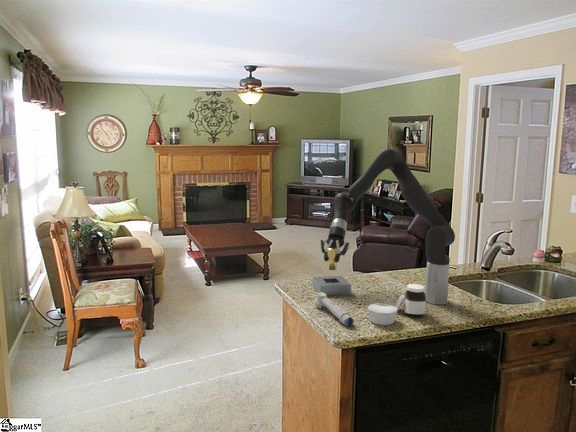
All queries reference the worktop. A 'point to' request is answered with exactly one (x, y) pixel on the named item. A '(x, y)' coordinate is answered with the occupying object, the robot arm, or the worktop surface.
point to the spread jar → (413, 300)
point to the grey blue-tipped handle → (333, 309)
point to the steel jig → (332, 285)
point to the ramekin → (382, 313)
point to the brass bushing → (331, 258)
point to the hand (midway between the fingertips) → (331, 261)
